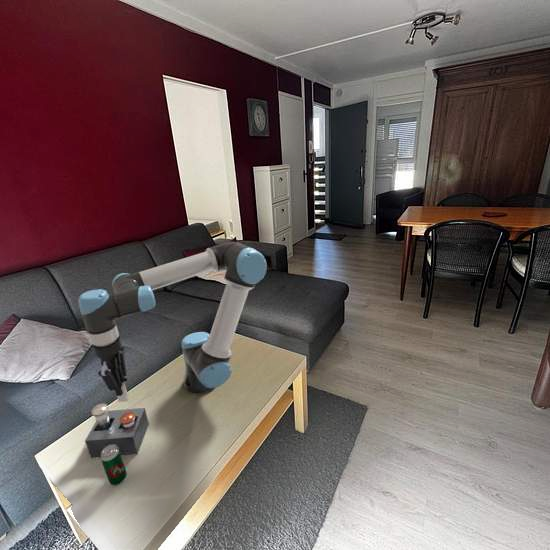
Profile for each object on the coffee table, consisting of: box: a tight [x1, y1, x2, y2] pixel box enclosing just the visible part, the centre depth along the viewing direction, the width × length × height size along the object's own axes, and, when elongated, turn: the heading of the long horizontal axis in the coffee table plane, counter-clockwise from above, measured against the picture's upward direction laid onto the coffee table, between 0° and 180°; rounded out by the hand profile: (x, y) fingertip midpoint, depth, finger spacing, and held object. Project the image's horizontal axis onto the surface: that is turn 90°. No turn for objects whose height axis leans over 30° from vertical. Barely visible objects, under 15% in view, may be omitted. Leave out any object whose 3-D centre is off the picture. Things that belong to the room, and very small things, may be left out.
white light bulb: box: [90, 403, 111, 431], centre depth 101 cm, size 5×5×8 cm
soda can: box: [99, 444, 128, 486], centre depth 91 cm, size 5×5×12 cm
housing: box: [84, 407, 150, 459], centre depth 104 cm, size 15×12×8 cm
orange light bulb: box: [120, 412, 135, 429], centre depth 104 cm, size 5×5×8 cm
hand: (123, 399), depth 100 cm, fingers closed
